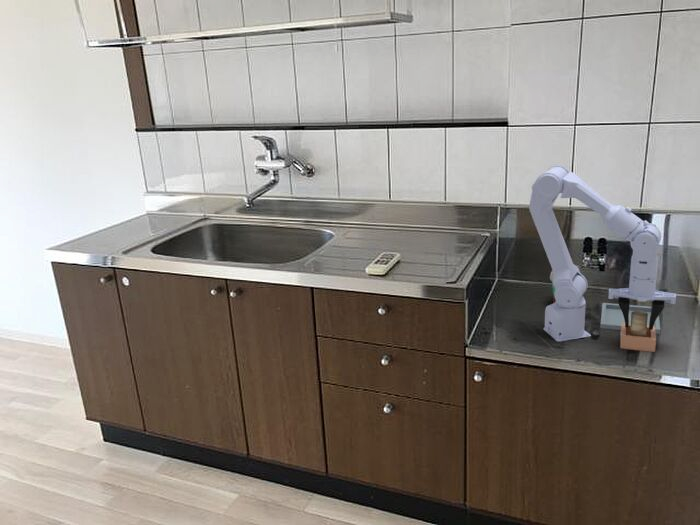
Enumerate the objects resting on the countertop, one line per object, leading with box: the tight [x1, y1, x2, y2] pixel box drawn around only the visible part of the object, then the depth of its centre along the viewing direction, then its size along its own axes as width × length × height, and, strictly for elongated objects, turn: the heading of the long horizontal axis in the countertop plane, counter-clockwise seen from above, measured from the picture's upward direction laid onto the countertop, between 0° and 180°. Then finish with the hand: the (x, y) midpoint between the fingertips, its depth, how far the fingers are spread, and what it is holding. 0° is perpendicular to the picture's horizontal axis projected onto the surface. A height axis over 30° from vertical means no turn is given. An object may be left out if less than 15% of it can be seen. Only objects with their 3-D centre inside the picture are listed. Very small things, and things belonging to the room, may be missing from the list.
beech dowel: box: [630, 311, 648, 337], centre depth 146 cm, size 4×4×8 cm
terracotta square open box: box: [619, 323, 657, 353], centre depth 147 cm, size 8×8×4 cm
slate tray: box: [599, 302, 661, 335], centre depth 159 cm, size 14×14×2 cm
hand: (638, 326), depth 146 cm, fingers open, 5 cm apart
